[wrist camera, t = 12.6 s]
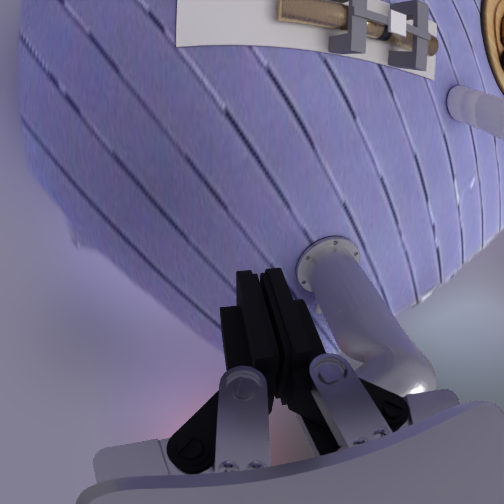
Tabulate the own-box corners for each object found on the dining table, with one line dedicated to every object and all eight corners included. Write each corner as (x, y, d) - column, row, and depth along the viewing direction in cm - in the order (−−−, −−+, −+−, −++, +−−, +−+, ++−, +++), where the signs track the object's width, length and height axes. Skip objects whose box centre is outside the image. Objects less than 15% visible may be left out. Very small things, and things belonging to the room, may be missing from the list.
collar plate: (430, 79, 36) (466, 87, 28) (176, 47, 30) (169, 39, 23) (432, 23, 30) (469, 24, 22) (179, -23, 24) (174, -46, 16)
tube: (421, 33, 30) (439, 33, 26) (420, 56, 32) (438, 58, 29) (276, -4, 26) (284, -12, 23) (275, 23, 29) (283, 18, 25)
